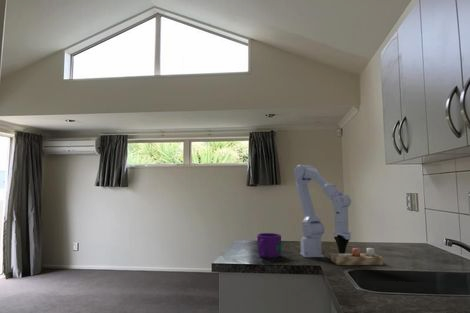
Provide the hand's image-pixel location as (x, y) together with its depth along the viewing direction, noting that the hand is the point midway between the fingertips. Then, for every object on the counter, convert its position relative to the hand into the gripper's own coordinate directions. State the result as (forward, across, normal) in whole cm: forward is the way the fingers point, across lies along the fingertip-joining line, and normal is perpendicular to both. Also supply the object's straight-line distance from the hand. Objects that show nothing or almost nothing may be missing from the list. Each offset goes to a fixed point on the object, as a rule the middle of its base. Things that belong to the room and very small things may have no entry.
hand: (341, 253), depth 146 cm
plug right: (+1, 0, -13) cm, 13 cm away
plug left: (+4, 0, 0) cm, 4 cm away
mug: (+4, +12, +32) cm, 34 cm away
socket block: (+4, 0, -7) cm, 8 cm away
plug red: (+1, 0, -7) cm, 7 cm away
